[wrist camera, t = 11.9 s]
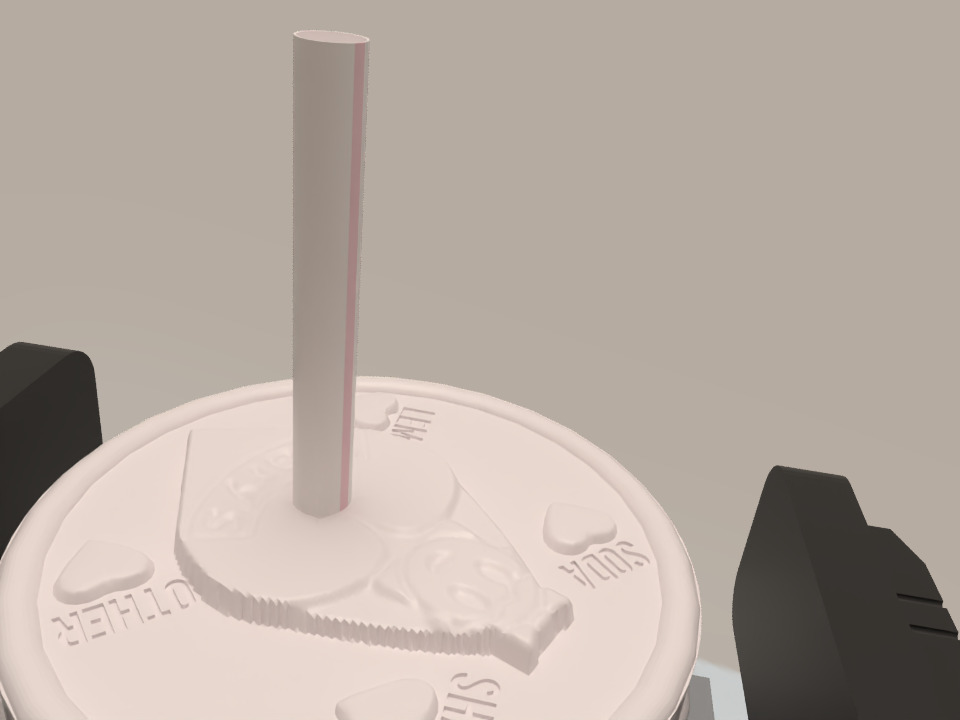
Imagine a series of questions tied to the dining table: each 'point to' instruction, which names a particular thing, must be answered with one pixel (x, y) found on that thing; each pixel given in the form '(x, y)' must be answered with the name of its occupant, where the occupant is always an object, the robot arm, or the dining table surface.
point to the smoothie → (345, 529)
